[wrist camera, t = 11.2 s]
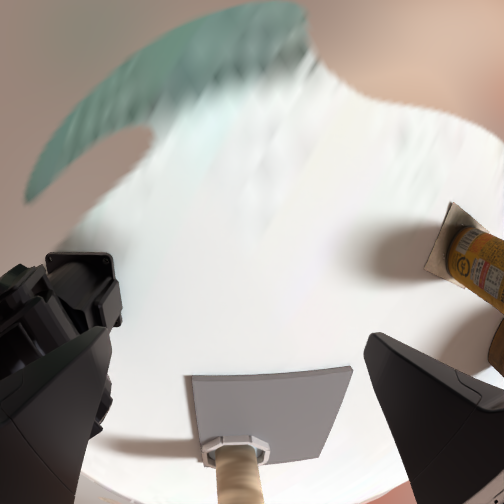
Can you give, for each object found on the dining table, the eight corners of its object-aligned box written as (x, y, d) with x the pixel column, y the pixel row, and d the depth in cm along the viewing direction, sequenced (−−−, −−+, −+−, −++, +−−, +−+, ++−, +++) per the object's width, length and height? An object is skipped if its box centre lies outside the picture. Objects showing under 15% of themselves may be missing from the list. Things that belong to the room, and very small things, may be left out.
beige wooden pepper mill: (211, 459, 29) (218, 559, 15) (219, 441, 28) (228, 553, 14) (249, 461, 30) (265, 557, 16) (260, 443, 29) (280, 550, 15)
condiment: (463, 288, 26) (533, 340, 15) (422, 268, 24) (508, 331, 13) (488, 231, 24) (565, 269, 13) (451, 201, 23) (548, 237, 11)
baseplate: (204, 462, 31) (204, 472, 29) (192, 375, 25) (191, 388, 23) (317, 453, 33) (320, 462, 31) (350, 365, 27) (356, 376, 25)
